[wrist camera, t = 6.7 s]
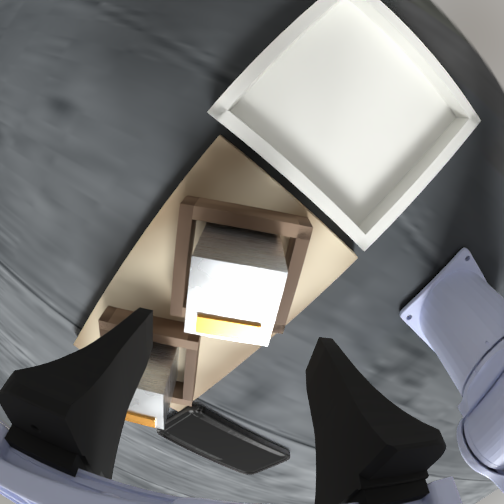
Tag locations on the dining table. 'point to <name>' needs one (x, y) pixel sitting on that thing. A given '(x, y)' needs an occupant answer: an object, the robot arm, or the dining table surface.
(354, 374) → the robot arm
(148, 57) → the dining table surface
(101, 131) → the dining table surface
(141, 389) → the seated billet
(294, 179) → the white square tray
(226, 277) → the loose billet
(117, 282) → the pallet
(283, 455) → the phone
